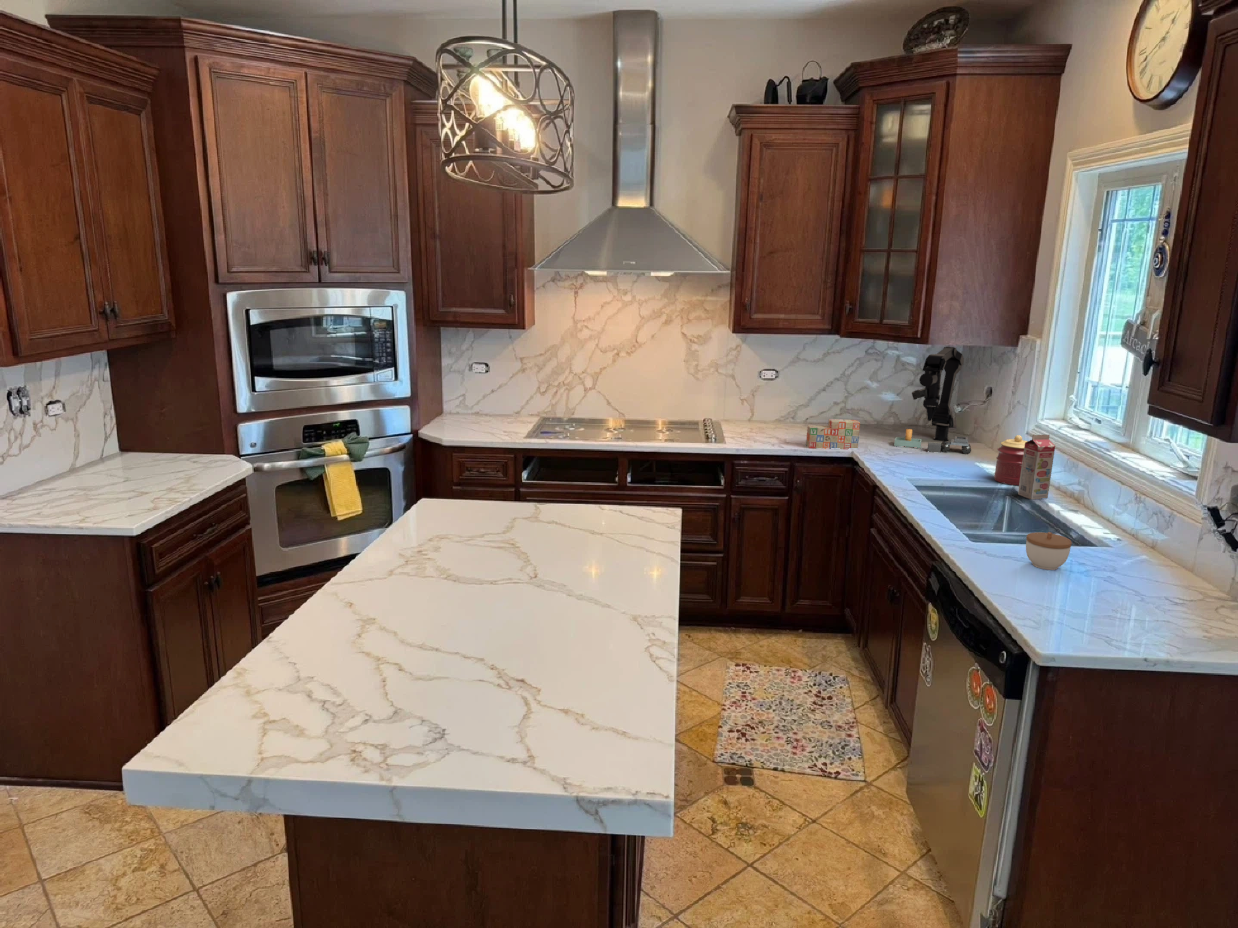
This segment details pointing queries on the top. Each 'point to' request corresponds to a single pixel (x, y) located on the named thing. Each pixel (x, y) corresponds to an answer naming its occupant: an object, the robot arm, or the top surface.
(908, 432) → the pin
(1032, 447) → the juice carton
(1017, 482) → the canister
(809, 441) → the stack of blocks
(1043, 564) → the lidded jar
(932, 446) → the block
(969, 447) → the grey toy car
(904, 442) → the tray
